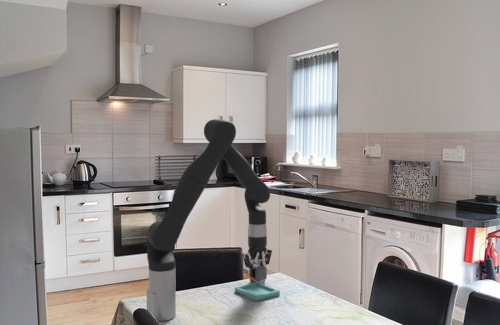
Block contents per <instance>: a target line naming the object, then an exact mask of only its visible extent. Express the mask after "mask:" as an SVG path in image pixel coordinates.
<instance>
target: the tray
mask: <svg viewBox="0 0 500 325" xmlns="http://www.w3.org/2000/svg"><path fill="white" fill-rule="evenodd" d="M234 293H236V294H238V295H241V296H242V297H243V298H247V299H249V300H251V301H254V302H255V303H258V302H262V301H264V300H265V301H266V300H268V299H269V300H270V299H272V298H275V297H279V296H280V295H281V291H280V290H279V289H278V288H275V287H272V286H270V285H266V284H264V283H263V284H262V283H260V282H255V283H251V282H250V283H247V284H244V285H239V286H234Z"/></svg>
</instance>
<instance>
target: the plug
mask: <svg viewBox="0 0 500 325" xmlns="http://www.w3.org/2000/svg"><path fill="white" fill-rule="evenodd" d="M252 266H253V265H252ZM267 270H268V269H267V266H266V267H263V266H260V265H256V266H255V278H253V279H256V280H258V281H260V280H264V279H265V280H267V277H268V276H267ZM247 274H248V275H250V268H248V269H247ZM250 277H251V276H250Z"/></svg>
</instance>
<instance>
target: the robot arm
mask: <svg viewBox="0 0 500 325" xmlns="http://www.w3.org/2000/svg"><path fill="white" fill-rule="evenodd" d="M236 133H237V129H236V126H235V124H234V123H233V122H231V121H229V120H225V119H224V120H223V119H218V118H217V119H215V118H214V119H211V120H208V121H207V122H206V123H205V125H204V127H203V136H204V137H205V139H206V141H207V142H208V144H207V146H206V148H205V150H203V152H202V153H201V154H200V155H199V156H198V157H197V158H196V159H194V161H192V162H191V163H190V164H189V165H188V166H187V167H186V168H185V170H184V171H183V172H182V174H181V177H180V178H179V180H178V182H177V184H176V185H175V189H174V192H173V195H172V199H171V204H170V206H169V209H168V211H167V212H166V214H165V215H164V217H163V219H162V220H159V221H155V222H153V223H152V224H150V226H149V227H148V229H147V232H146V257H147V263H148V289H146V311H147V310H148V311H149V312H150V313H151V314H152V315H153V316H154V317H155V319H156V320H157V321H156V322H164V321H169V320H172V319H174V318H175V317H176V314H177V311H176V310H177V307H176V306H177V303H176V302H177V301H176V300H177V299H176V298H177V297H176V294H177V293H176V288H177V287H176V284H177V283H176V259H175V255H174V246H175V245H176V244H177V242H178V240H179V238H180V235H181V233H182V230H183V228H184V226H185V223H186V222H187V219H188V218H189V216H190V214H191V213H192V211H193V210H194V208H195V206H196V204H197V202H198V200H199V199H200V197H201V195H202V194H203V192H204V190H205V188H206V187H207V185H208V183H209V181H210V179H211V176H212V175H213V174H214V172H215V171H216V168H217V167H218V165H219V163H220V161H221V160H222V159H223V160H224V161H225V163H226V164H227V166H228V167H229V168H230V169H231V170H230V171H232V173H233V174H234V175H235V177H236V179H237V181H238V182H239V184H240V185H241V186H242V187H244V188H245V190H244V202H245V205H246V209H247V212H248V225H247V226H248V228H247V247H248V250H247V253H242V254H241V255H242V258H243V262H244V265H245V268H248V269H249V268H250V276H251V278H255V266H256V263H257V260H259V263H260V266H263V267H265V266H266V267H267V265H270V261H271V257H272V254H273V250H272V249H270V248H269V249H268V248H267V245H268V240H267V239H268V237H267V236H268V235H267V234H268V231H267V230H268V228H267V212H266V210H265V209H264V208H263V207H261V205H260V204H266V203H267V202H269V200H270V198H271V191H270V189H269V187H268V186H267V184H266V183H265V182H264V181H263V180H262V179H261V178H260V177H259V176H258V175H257V174H256V172H255V171H254V169H253V167H252V166H251V164H250V163H249V161H247V159H246V158H245V157H244V156H243V155H242V154H241V153H240V152H239V151H238V150H237V149H236V147H234V145H233V142H234V141H235V139H236V135H237V134H236ZM253 260H254V261H253ZM252 265H253V266H252Z"/></svg>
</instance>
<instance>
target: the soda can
mask: <svg viewBox="0 0 500 325" xmlns="http://www.w3.org/2000/svg"><path fill="white" fill-rule="evenodd" d="M253 261H254V260H253ZM256 265H260V263H259V260H257V263H256ZM265 267H266V268H267V265H266V266H265ZM248 275H249V274H248ZM249 282H250V284H251V283H255V282H260V283H262V284H264V283H265V282H266V279H264V280H260V281H258V280H256V279H253V278H251V277H250V275H249Z"/></svg>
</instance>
